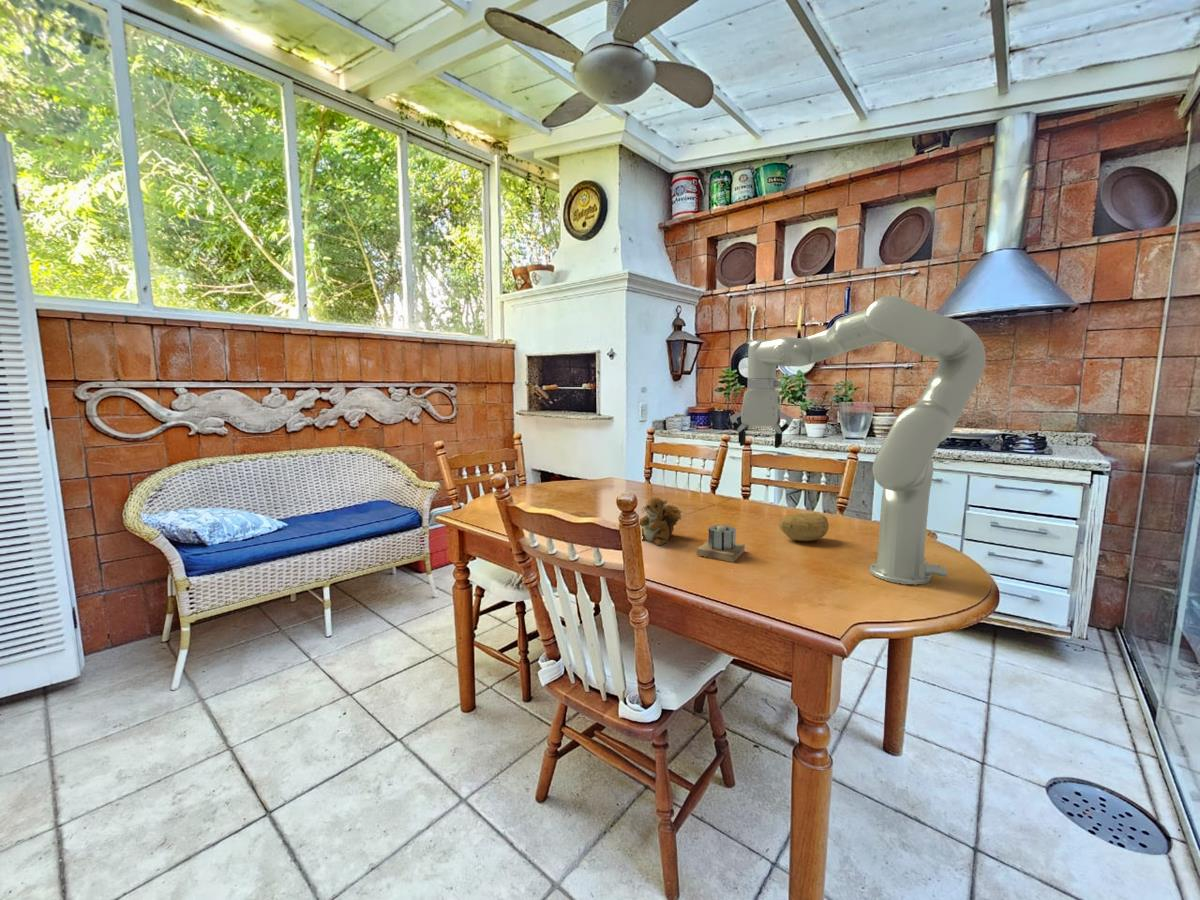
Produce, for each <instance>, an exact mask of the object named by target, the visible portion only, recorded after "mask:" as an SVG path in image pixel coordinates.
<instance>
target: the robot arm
mask: <svg viewBox="0 0 1200 900" xmlns="http://www.w3.org/2000/svg"><path fill="white" fill-rule="evenodd" d="M884 341H889V342H892V343H894V344H897V345H898V346H901V347H903V348H905V349H907V350H910V351H912V352H914V353H917V354H919V355H921V356H924V357H927V358H930V359H935V360H936V359H937V361H938V362H937V367H936V369H935V371H934V372H933V374H932V375H931V376H930V378H929V380H928V382H927V384H926V387H925V388H924V390H923V392H922V393H921V396H920V397H919V399H918V400H917V402H916V403H915V404H912V405H909V406H908V407H906V408H905V409H904V410H902V411H901V412H900V413H899V415H897V417H896V418H895V420H894V421H893V423H892V425H891V427H890V429H889V431H888V433H887V434H886V437H885V439H884V441H883V443H882V445H881V447H880V448H879V450H878V452H877V454H876V456H875V458H874V460H873V462H872V476H873V478H874V480H875V481H876V483H877V484H878V485H879V486H880V487H881V488H882V495H881V503H880V515H879V531H878V532H879V533H878V549H877V561H876V562H873V563H872V564H870V565H869V572H870V573H871V574H872V575H873V576H875V577H876V578H878V579H880V578H881V579H880V580H883V579H884V580H883V581H886V582H890V583H894V582H895V583H894V584H899V583H901V585H907V584H914V585H913V586H916V585H917V584H921V585H925V584H928V583H929V582H930V581H931V578H932V577H931V575H935V576H940V577H944V578H947V575H948V569H947V568H945V567H941V564H933V563H929V562H926V558H927V557H925V553H926V552H925V551H926V539H927V538H926V536H927V527H928V525H927V524H928V515H929V514H928V513H929V502H930V501H929V500H930V495H931V494H930V493H931V488H932V481H933V476H934V475H933V474H934V462H933V459H932V457H933V456H934V453H935V452H936V449H937V448H938V446H939V445H940V443H941V442H943V441H945V440H946V439H948V438H949V436H951V434H952V433H953V430H954V428H955V427H956V424H957V423H958V420H959V419H960V416H962V413H963V412H964V410H965V408H966V406H967V404H968V402H969V400H970V399H971V397H972V395H973V393H974V391H975V389H976V388H977V385H978V383H979V382H980V380H981V377H982V375H983V373H984V369H985V365H986V359H987V358H986V357H987V356H986V355H987V354H986V350H985V346H984V343H983V342H982V340H981V339H980V337H979V335H978V334H977V333H976V332H975V331H974V330H973V329H972V328H971V327H970V326H969V325H967V324H965V323H964V322H962V321H960V320H957V319H954V318H951V317H949V316H945V315H943V314H940V313H937V312H935V311H933V310H932V311H931V310H929V309H927V308H924V307H922V306H919V305H916V304H914V303H912V302H911V301H910V300H907V299H904V298H902V297H899V296H896V295H886V296H882V297H879V298H877V299H876V300H874V301H873V302H871V304H870V305H869V306H868V307H867V308H865V309H862V310H859V311H855V312H852V313H851V314H848V315H844V316H842V317H841V316H840V317H839V318H837V319H836V320H835V321H834V323H833V324H832V325H831V326H830V327H829V328H827V329H824V330H823V331H820V332H818V333H815V334H812V335H809V336H806V337H801V338H797V337H783V336H782V337H778V338H775V339H757V340H753V341H751V342H750V343H749V344H748V349H747V351H748V354H747V356H748V357H747V360H748V361H747V387H746V388H747V390H744V394H743V398H742V404H741V410H740V411H738V412H736V413H733V414H732V415H729V420H730V422H731V424H732V426H733V427H734V429H735V430H736V431H737V432H738V441H737V442H738V443H739V446H740V447H744V446H745V445H746V439H747V438H746V437H747V432H746V431H745V430H746V428H748V426H749V427H772V428H773V429H774V431H775V434H774V448H775V449H779V448H780V446H782V444H783V443H782V442H783V433H784V432H785V431H786V430H788V428H789V427H790V425H791V424H792V422H793V420H794V418H793V417H792V416H791V415H789V414H786V412H783V411H781V397H780V395H781V394H780V392H779V390H776V389H777V387H781V386H782V381H781V380H777V366H779V367H804V366H808V365H812V364H816V363H818V362H821V361H825V360H829V359H831V358H834V357H837V356H840V355H844V354H846V353H847V352H851V351H854V350H857V349H861V348H864V347H868V346H871V345H875V344H877V343H881V342H884ZM738 418H740V421H741V424H740V423H739V422H738V420H737V419H738ZM782 419H783V420H785V422H784V424H783V425H782V426H781V420H782ZM917 586H918V585H917Z"/></svg>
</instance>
